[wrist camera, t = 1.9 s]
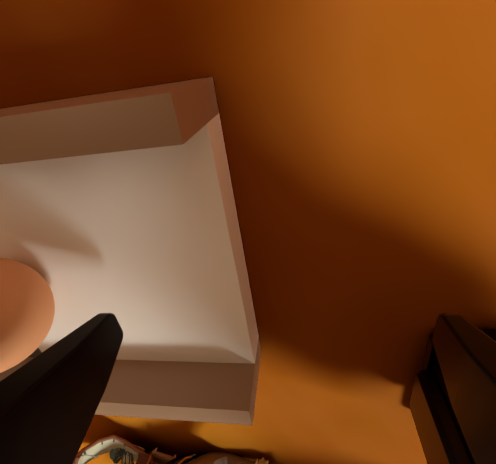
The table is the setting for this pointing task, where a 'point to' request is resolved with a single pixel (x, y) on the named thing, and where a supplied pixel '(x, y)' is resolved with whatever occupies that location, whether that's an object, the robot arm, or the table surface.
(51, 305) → the ball
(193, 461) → the figurine
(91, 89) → the table surface
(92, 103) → the shallow open tray
